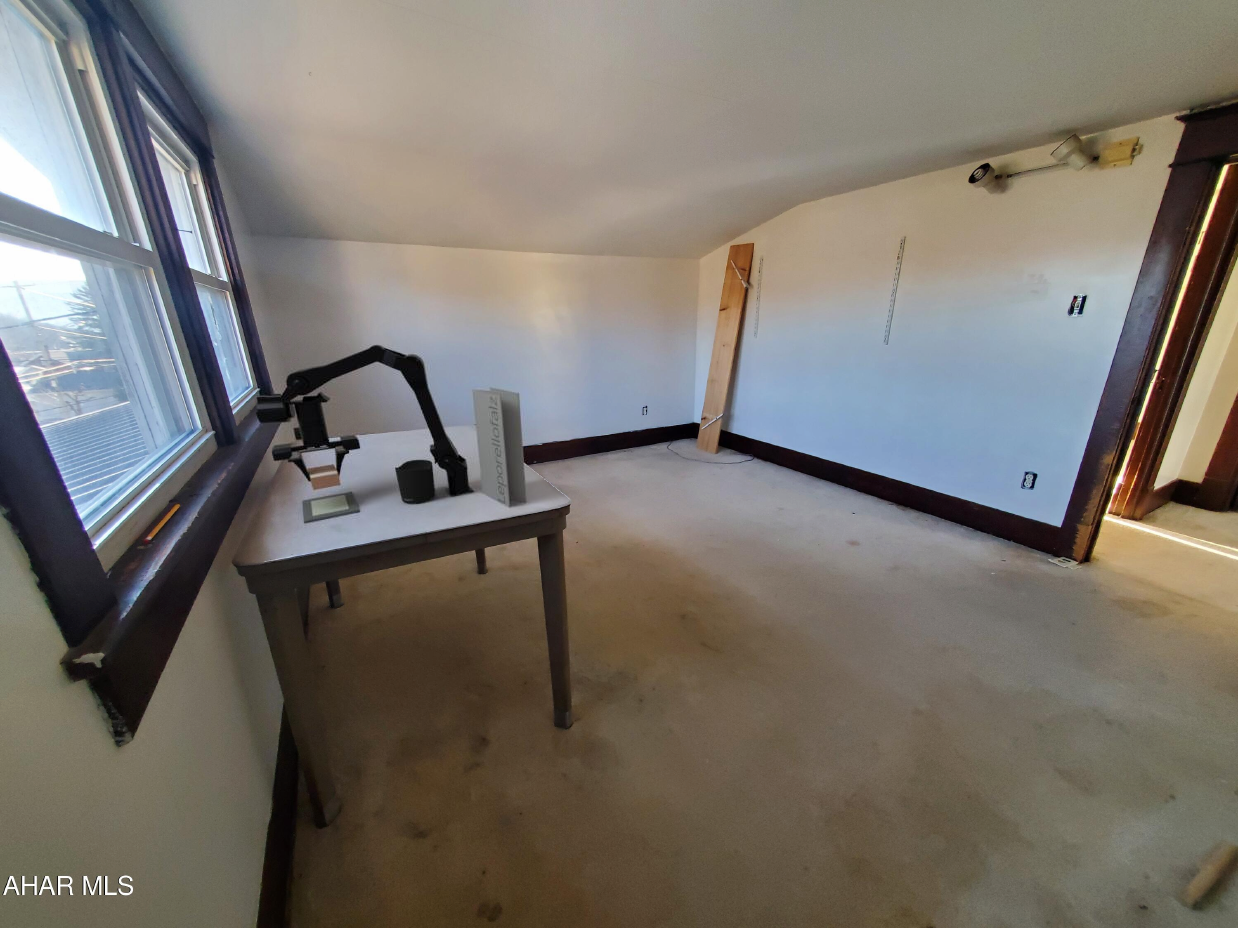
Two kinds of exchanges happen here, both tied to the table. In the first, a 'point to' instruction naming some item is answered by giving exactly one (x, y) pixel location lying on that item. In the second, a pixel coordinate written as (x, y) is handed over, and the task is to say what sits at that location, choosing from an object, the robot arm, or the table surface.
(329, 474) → the block
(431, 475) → the pen holder
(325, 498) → the mat
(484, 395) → the brochure
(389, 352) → the robot arm
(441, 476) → the table surface
